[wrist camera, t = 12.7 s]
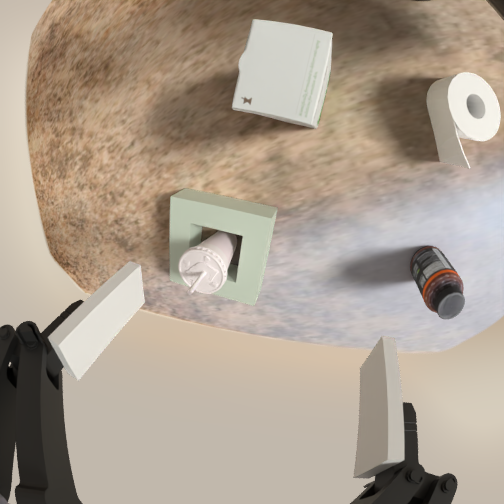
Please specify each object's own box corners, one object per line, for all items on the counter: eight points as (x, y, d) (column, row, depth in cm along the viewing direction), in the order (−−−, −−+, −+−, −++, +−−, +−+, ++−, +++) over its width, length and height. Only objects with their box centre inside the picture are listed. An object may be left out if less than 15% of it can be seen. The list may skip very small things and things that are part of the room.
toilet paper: (439, 161, 28) (462, 171, 22) (418, 80, 24) (438, 73, 18) (483, 154, 25) (509, 163, 19) (465, 77, 21) (489, 72, 15)
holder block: (185, 188, 39) (170, 196, 35) (277, 207, 37) (271, 218, 33) (182, 266, 46) (169, 280, 42) (260, 289, 44) (254, 306, 40)
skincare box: (317, 129, 31) (313, 132, 18) (266, 116, 32) (226, 112, 18) (331, 70, 27) (337, 32, 14) (280, 58, 28) (249, 16, 14)
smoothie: (249, 257, 42) (218, 315, 30) (212, 260, 44) (171, 314, 32) (240, 218, 39) (202, 265, 27) (201, 223, 41) (152, 268, 29)
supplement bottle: (444, 272, 34) (470, 318, 25) (411, 283, 37) (430, 332, 27) (440, 239, 33) (472, 280, 23) (406, 250, 35) (429, 295, 25)
